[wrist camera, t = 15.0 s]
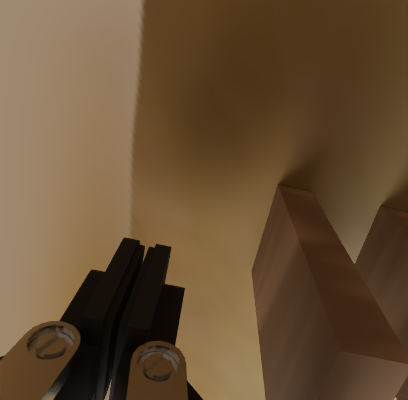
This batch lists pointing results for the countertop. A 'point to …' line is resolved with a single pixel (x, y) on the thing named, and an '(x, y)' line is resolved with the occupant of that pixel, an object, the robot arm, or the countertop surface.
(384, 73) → the countertop surface
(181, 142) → the countertop surface
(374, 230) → the domino
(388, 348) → the domino
